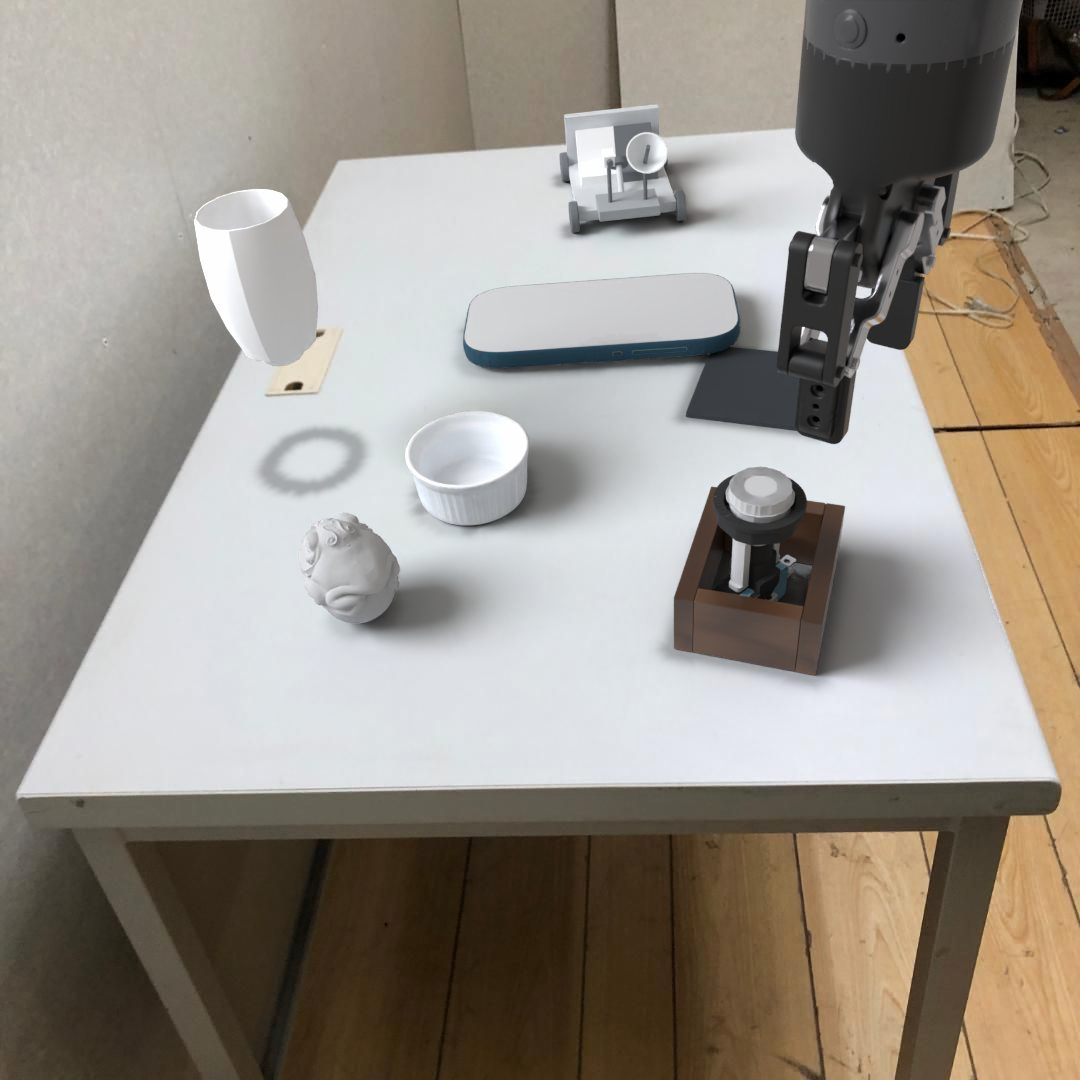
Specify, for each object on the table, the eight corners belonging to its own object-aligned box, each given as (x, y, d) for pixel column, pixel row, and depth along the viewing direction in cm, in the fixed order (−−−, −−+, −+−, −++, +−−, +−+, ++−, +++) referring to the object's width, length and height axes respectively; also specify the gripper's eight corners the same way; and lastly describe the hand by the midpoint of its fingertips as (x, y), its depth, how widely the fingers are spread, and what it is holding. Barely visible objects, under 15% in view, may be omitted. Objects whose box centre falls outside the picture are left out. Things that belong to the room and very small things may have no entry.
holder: (838, 556, 70) (845, 505, 67) (815, 676, 63) (822, 624, 60) (709, 536, 73) (711, 486, 70) (673, 649, 66) (673, 597, 63)
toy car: (691, 139, 98) (567, 152, 99) (690, 237, 105) (574, 250, 105) (663, 72, 112) (553, 84, 112) (663, 163, 118) (560, 174, 119)
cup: (367, 430, 86) (307, 182, 72) (349, 487, 80) (281, 232, 66) (280, 432, 86) (204, 188, 72) (257, 490, 81) (170, 237, 67)
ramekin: (546, 461, 81) (542, 414, 78) (516, 539, 74) (510, 491, 71) (436, 451, 83) (428, 405, 80) (398, 526, 76) (387, 479, 73)
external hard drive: (730, 289, 96) (730, 269, 95) (743, 358, 88) (744, 337, 86) (473, 307, 99) (470, 288, 97) (461, 376, 90) (458, 356, 89)
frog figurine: (367, 561, 74) (346, 484, 69) (430, 610, 70) (412, 531, 65) (294, 608, 71) (268, 530, 66) (355, 662, 67) (331, 583, 62)
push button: (759, 555, 71) (768, 435, 64) (824, 594, 68) (841, 472, 61) (692, 608, 68) (694, 488, 61) (758, 651, 65) (768, 529, 58)
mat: (833, 361, 87) (833, 357, 87) (815, 433, 80) (816, 428, 80) (712, 348, 90) (712, 344, 90) (685, 416, 83) (685, 412, 83)
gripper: (949, 102, 33) (879, 498, 44) (1066, -27, 41) (983, 332, 52) (729, 72, 37) (715, 447, 47) (878, -41, 45) (837, 299, 56)
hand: (856, 386), depth 50 cm, fingers open, 8 cm apart
